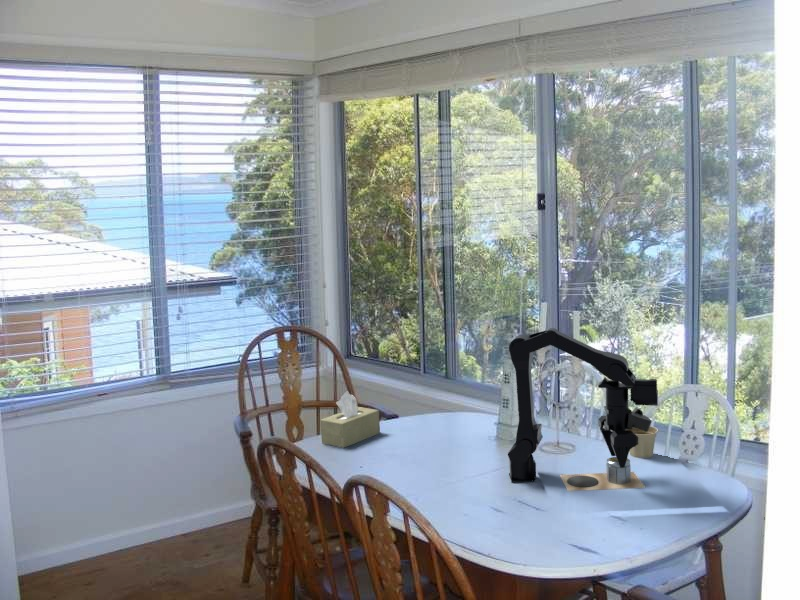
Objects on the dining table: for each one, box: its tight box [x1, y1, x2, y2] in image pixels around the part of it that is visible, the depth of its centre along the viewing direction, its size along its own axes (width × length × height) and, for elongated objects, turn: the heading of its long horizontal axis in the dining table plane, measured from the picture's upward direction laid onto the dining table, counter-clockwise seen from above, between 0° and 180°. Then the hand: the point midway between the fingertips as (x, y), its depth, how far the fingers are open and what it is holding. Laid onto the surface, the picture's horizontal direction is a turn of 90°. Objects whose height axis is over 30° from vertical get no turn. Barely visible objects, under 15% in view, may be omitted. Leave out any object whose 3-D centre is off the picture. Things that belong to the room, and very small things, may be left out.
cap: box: [605, 456, 632, 484], centre depth 220 cm, size 6×6×6 cm
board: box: [559, 471, 646, 492], centre depth 220 cm, size 20×12×5 cm, turn 89°
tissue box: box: [320, 390, 381, 449], centre depth 274 cm, size 19×10×16 cm, turn 141°
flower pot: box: [626, 425, 659, 459], centre depth 240 cm, size 9×9×9 cm
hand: (617, 461), depth 220 cm, fingers open, 9 cm apart
